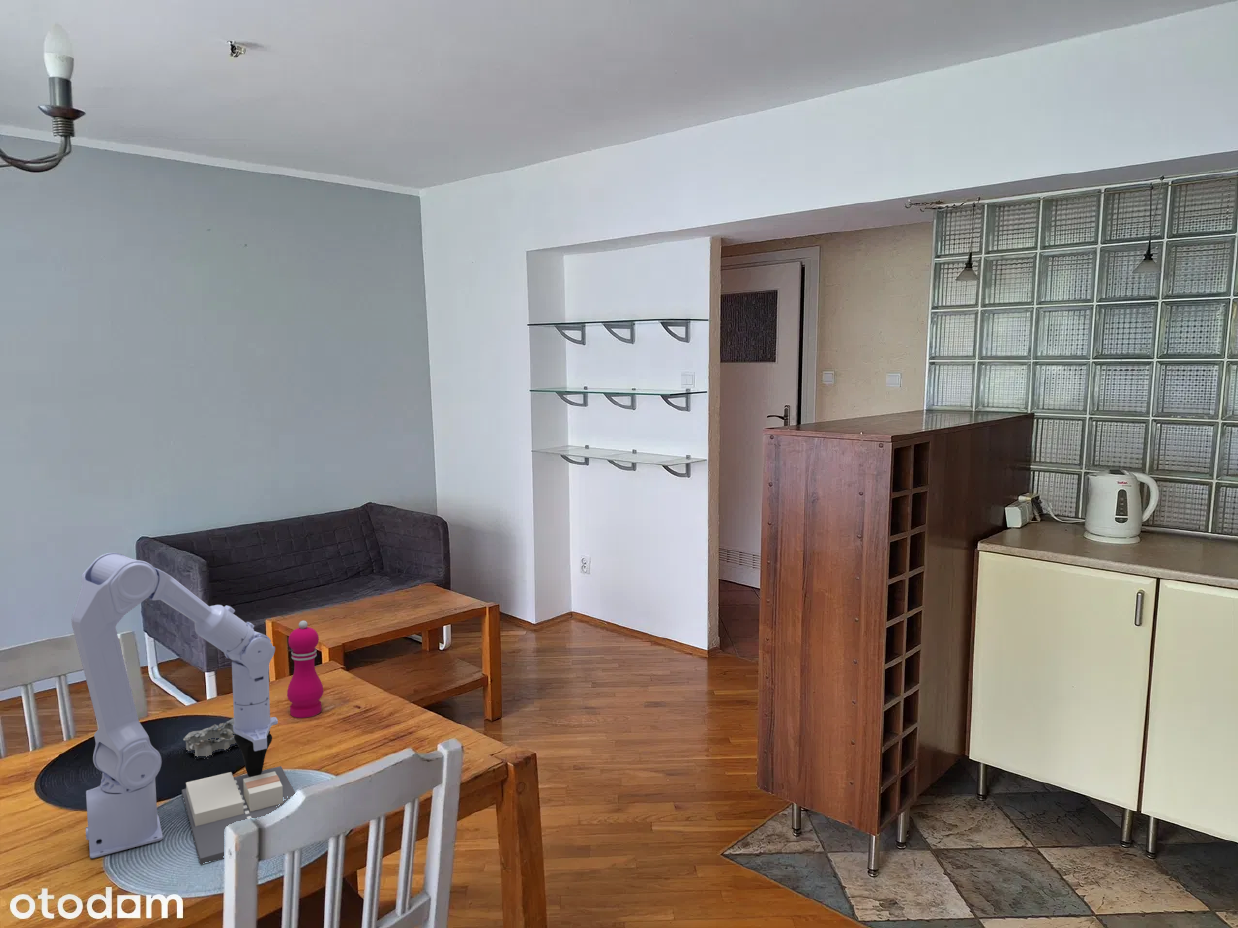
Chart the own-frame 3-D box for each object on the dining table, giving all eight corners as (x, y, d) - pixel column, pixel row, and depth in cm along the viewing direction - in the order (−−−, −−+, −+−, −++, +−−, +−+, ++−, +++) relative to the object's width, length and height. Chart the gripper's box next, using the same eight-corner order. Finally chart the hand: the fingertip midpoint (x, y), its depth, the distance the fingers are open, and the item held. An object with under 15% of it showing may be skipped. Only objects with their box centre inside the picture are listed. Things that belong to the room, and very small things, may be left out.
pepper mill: (286, 708, 178) (283, 617, 176) (322, 703, 181) (319, 614, 179) (288, 721, 172) (285, 627, 169) (325, 715, 175) (322, 623, 172)
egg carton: (197, 763, 153) (196, 742, 153) (181, 751, 158) (180, 730, 158) (254, 744, 161) (253, 724, 161) (237, 733, 166) (236, 713, 166)
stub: (250, 811, 134) (249, 792, 134) (243, 795, 139) (243, 777, 139) (283, 803, 137) (282, 784, 137) (275, 787, 142) (274, 770, 142)
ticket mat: (200, 864, 121) (199, 845, 121) (182, 795, 141) (181, 778, 141) (313, 832, 130) (313, 814, 130) (281, 771, 150) (280, 755, 150)
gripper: (285, 708, 139) (287, 785, 141) (267, 681, 151) (270, 752, 153) (239, 717, 135) (242, 796, 137) (225, 689, 147) (228, 762, 149)
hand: (254, 774), depth 144 cm, fingers closed
